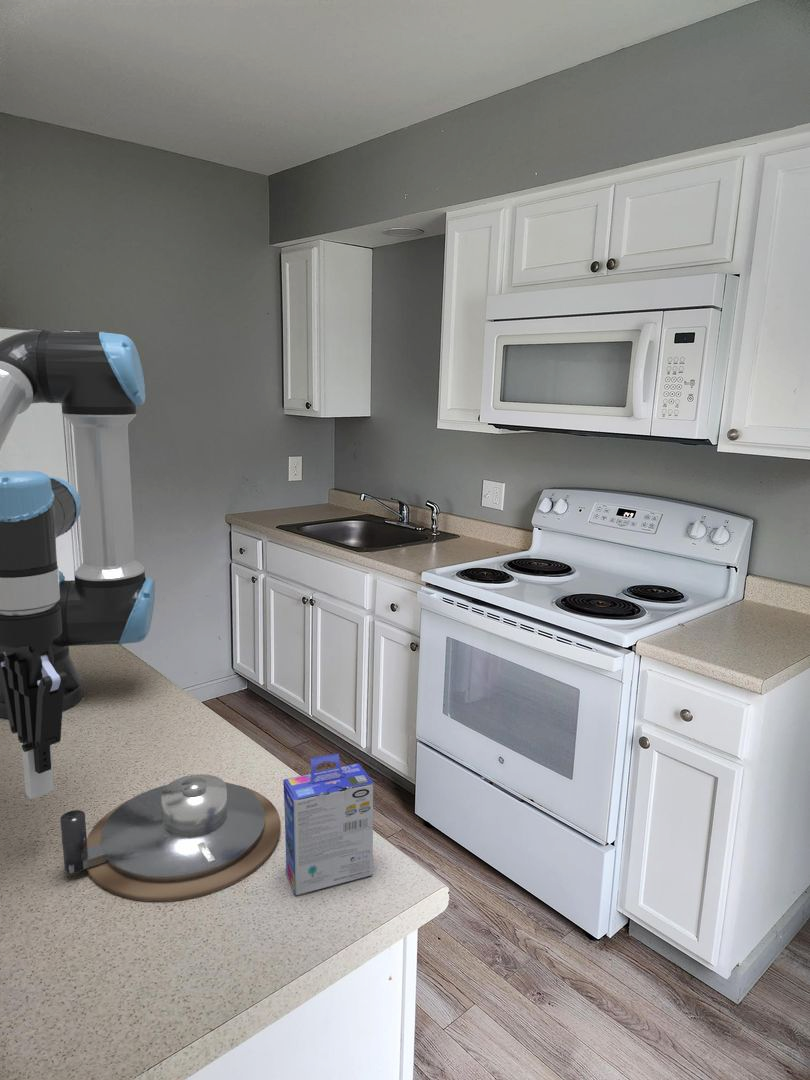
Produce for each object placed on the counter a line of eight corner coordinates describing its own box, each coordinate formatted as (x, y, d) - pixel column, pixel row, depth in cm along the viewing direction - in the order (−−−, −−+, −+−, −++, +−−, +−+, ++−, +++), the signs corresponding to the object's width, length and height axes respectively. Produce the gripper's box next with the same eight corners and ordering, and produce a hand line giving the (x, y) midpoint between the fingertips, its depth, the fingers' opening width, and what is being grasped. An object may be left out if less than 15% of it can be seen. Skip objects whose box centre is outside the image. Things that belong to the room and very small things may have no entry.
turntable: (49, 827, 93) (45, 781, 92) (230, 773, 107) (229, 733, 106) (83, 921, 77) (79, 867, 76) (291, 844, 91) (290, 797, 90)
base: (66, 820, 96) (65, 815, 96) (238, 770, 110) (238, 765, 110) (111, 932, 77) (110, 925, 77) (313, 854, 91) (313, 848, 91)
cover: (154, 813, 95) (152, 778, 94) (214, 795, 99) (213, 761, 98) (173, 845, 88) (172, 808, 87) (236, 824, 93) (235, 788, 92)
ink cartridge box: (359, 849, 92) (360, 744, 89) (375, 876, 87) (377, 765, 84) (282, 868, 88) (281, 758, 85) (295, 897, 83) (294, 782, 80)
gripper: (-35, 602, 85) (-17, 786, 90) (17, 625, 77) (34, 826, 82) (30, 589, 91) (44, 763, 96) (85, 610, 83) (97, 798, 88)
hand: (40, 792), depth 89 cm, fingers closed
